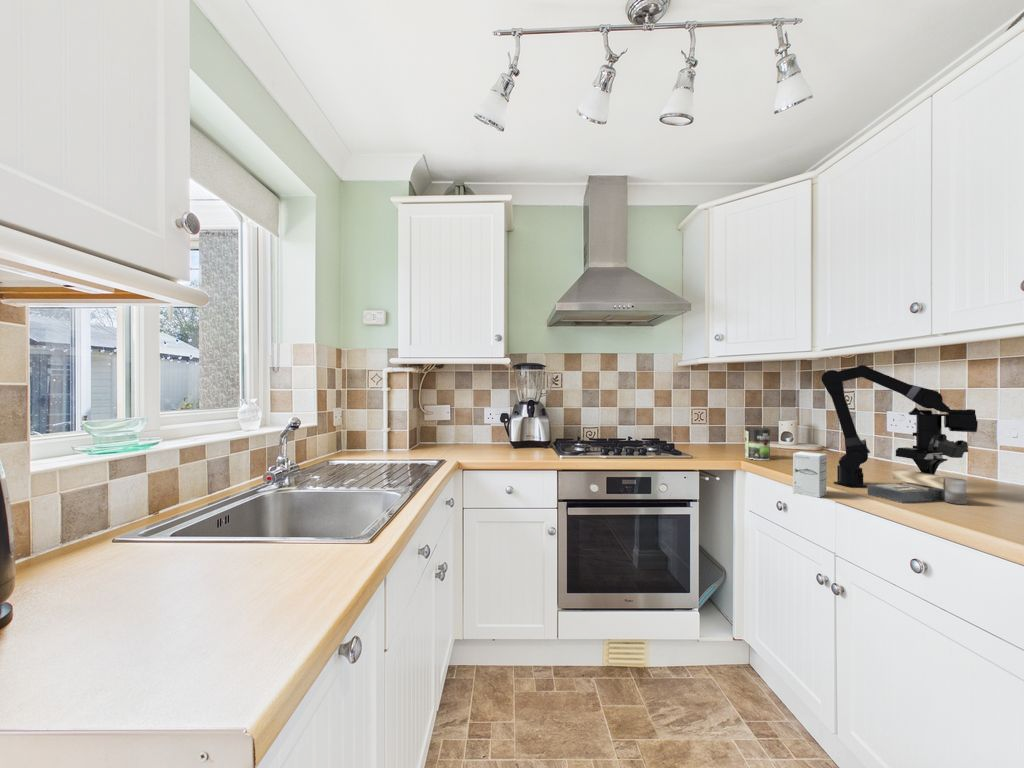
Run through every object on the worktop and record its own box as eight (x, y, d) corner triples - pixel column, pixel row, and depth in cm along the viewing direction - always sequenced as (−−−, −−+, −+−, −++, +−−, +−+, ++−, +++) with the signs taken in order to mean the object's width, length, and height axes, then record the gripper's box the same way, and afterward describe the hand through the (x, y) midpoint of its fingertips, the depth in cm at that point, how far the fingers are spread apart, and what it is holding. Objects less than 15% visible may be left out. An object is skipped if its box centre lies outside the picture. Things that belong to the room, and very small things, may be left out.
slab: (867, 494, 136) (867, 483, 136) (919, 491, 140) (919, 481, 140) (901, 503, 127) (901, 491, 127) (956, 499, 131) (956, 488, 131)
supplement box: (791, 493, 137) (791, 453, 138) (800, 490, 142) (800, 450, 142) (819, 498, 132) (819, 455, 132) (827, 494, 137) (827, 453, 137)
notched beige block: (970, 503, 125) (970, 480, 125) (958, 504, 124) (958, 481, 124) (903, 489, 142) (903, 469, 142) (892, 490, 141) (892, 469, 141)
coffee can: (775, 460, 200) (775, 429, 201) (755, 461, 198) (755, 429, 198) (758, 456, 211) (758, 427, 211) (739, 457, 208) (739, 427, 209)
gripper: (934, 433, 128) (934, 487, 128) (984, 432, 131) (984, 485, 131) (894, 429, 139) (894, 479, 139) (940, 428, 142) (940, 477, 142)
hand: (928, 480), depth 137 cm, fingers closed
